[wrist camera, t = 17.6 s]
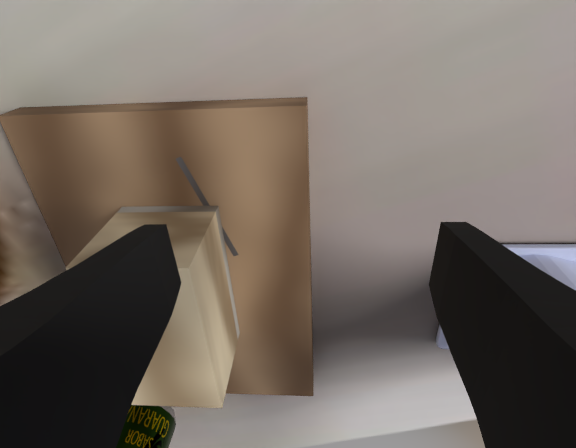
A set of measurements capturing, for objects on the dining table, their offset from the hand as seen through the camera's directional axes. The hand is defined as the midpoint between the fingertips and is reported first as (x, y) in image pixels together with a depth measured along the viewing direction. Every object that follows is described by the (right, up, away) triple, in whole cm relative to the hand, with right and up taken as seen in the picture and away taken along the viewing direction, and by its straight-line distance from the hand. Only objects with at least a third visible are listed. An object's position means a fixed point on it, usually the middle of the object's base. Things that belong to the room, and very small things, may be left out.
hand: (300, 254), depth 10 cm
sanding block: (-6, -2, +11) cm, 13 cm away
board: (-6, -2, +13) cm, 14 cm away
